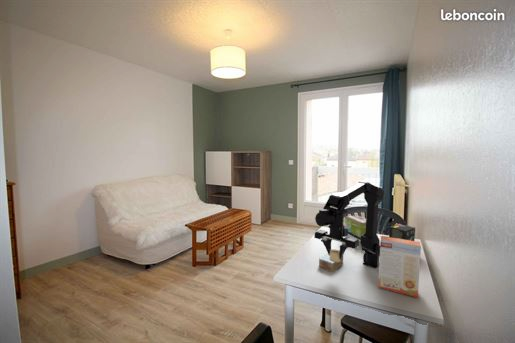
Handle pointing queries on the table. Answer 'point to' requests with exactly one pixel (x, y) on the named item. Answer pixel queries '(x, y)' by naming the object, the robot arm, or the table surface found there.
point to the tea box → (355, 227)
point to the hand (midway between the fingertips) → (335, 257)
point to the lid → (326, 259)
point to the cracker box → (399, 265)
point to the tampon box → (402, 232)
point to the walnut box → (330, 265)
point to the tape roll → (335, 255)
